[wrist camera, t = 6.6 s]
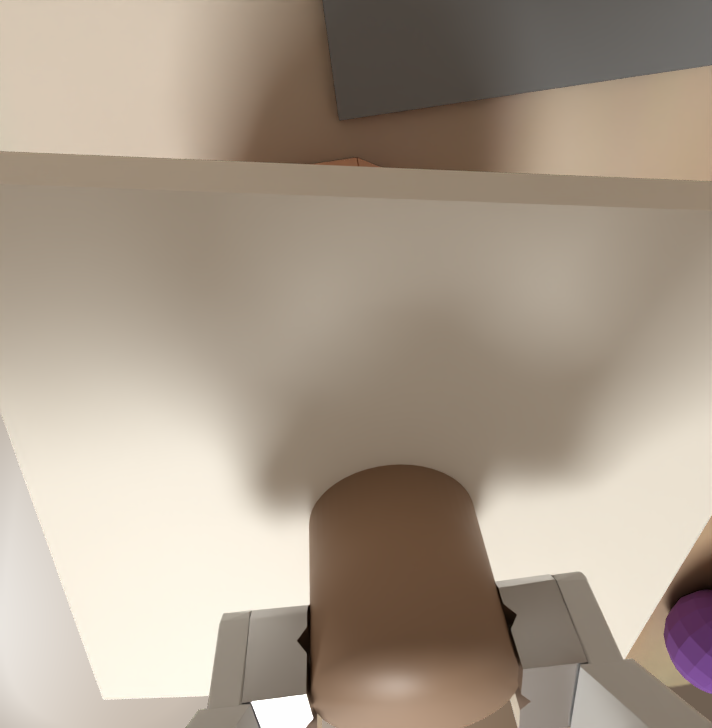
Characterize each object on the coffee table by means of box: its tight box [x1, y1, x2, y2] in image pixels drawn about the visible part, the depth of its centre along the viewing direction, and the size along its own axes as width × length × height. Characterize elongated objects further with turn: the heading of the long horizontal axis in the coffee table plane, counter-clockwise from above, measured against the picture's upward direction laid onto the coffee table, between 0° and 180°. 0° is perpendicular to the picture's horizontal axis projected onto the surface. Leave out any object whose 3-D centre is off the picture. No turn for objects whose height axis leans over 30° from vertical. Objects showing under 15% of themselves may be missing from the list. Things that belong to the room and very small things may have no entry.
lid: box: [0, 151, 712, 728], centre depth 11 cm, size 13×13×4 cm
